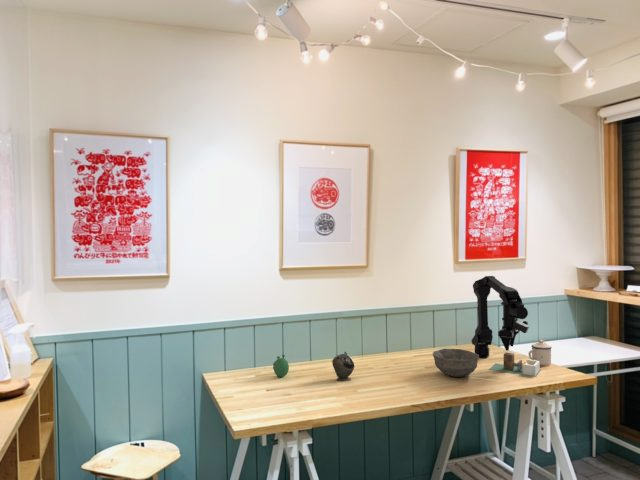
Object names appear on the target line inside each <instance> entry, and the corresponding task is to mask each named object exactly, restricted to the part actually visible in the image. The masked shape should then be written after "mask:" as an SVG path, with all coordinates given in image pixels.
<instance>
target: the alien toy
mask: <svg viewBox="0 0 640 480" xmlns="http://www.w3.org/2000/svg"><path fill="white" fill-rule="evenodd" d="M281 356H282V357H281ZM285 357H286V355H285V354H282V355H278V356H276V360H275V361H274V362H273V367H272V369H273V372H274V374H275V375H276V376H277V377H280V378H283V377H285V376H286V375H287V374H288V373H289V371H290V365H289V363H288V360H287V359H285Z"/></svg>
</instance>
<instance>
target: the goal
mask: <svg viewBox="0 0 640 480" xmlns="http://www.w3.org/2000/svg"><path fill="white" fill-rule="evenodd" d="M526 363H528V364H529V365H528V364H523V374H527V375H534V376H536V374H537V373H538V372H539V370H541V369H540V367H541V365H540V361H536V360H531V359H526ZM539 373H540V372H539ZM536 377H537V376H536Z"/></svg>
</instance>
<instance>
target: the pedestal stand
mask: <svg viewBox="0 0 640 480" xmlns="http://www.w3.org/2000/svg"><path fill="white" fill-rule="evenodd" d="M522 363H523V361H522V359H519V360H518V361H517V362H515V353H512V352H506V351H505V352H504V353H503V364H504V369H508V370H513V369H514V366H517V372H519V371H520V370H521V364H522Z"/></svg>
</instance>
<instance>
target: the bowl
mask: <svg viewBox="0 0 640 480" xmlns="http://www.w3.org/2000/svg"><path fill="white" fill-rule="evenodd" d="M432 356H433V359H434V366H435V367H436V368H437V369H438V371H440V372H441V373H443V374H444V375H447V376H451V377H454V378H455V377H456V378H462V377H467V376H469V375H471V374H473V373H474V372H475V370H476V369H477V368H478V362H479V358H480V357H479V355H477V354H476V353H475V352H473V351H470V350H468V349H467V350H466V349H463V348H462V349H461V348H441V349H438V350H435V351H433V352H432Z"/></svg>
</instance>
